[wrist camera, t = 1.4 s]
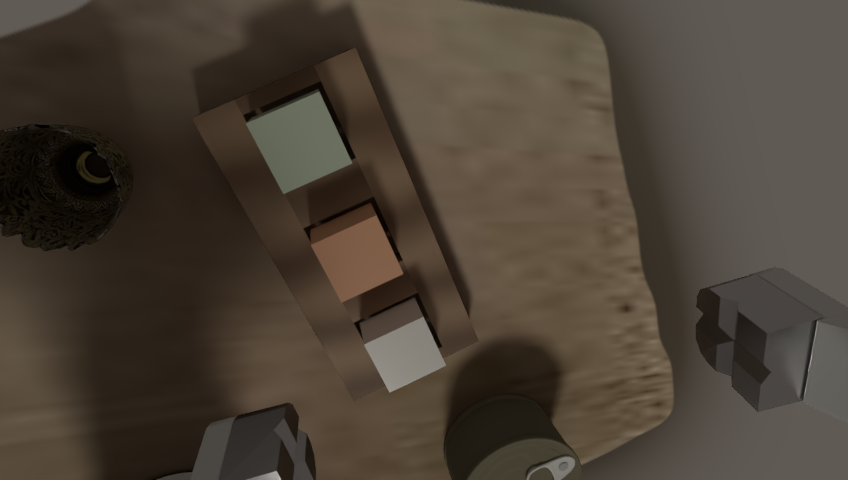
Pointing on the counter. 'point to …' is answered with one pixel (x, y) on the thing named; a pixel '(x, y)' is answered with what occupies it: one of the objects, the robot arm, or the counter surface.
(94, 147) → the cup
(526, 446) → the can
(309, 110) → the sage button
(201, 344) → the counter surface
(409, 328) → the grey button
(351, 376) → the walnut button board
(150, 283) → the counter surface
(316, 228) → the terracotta button
